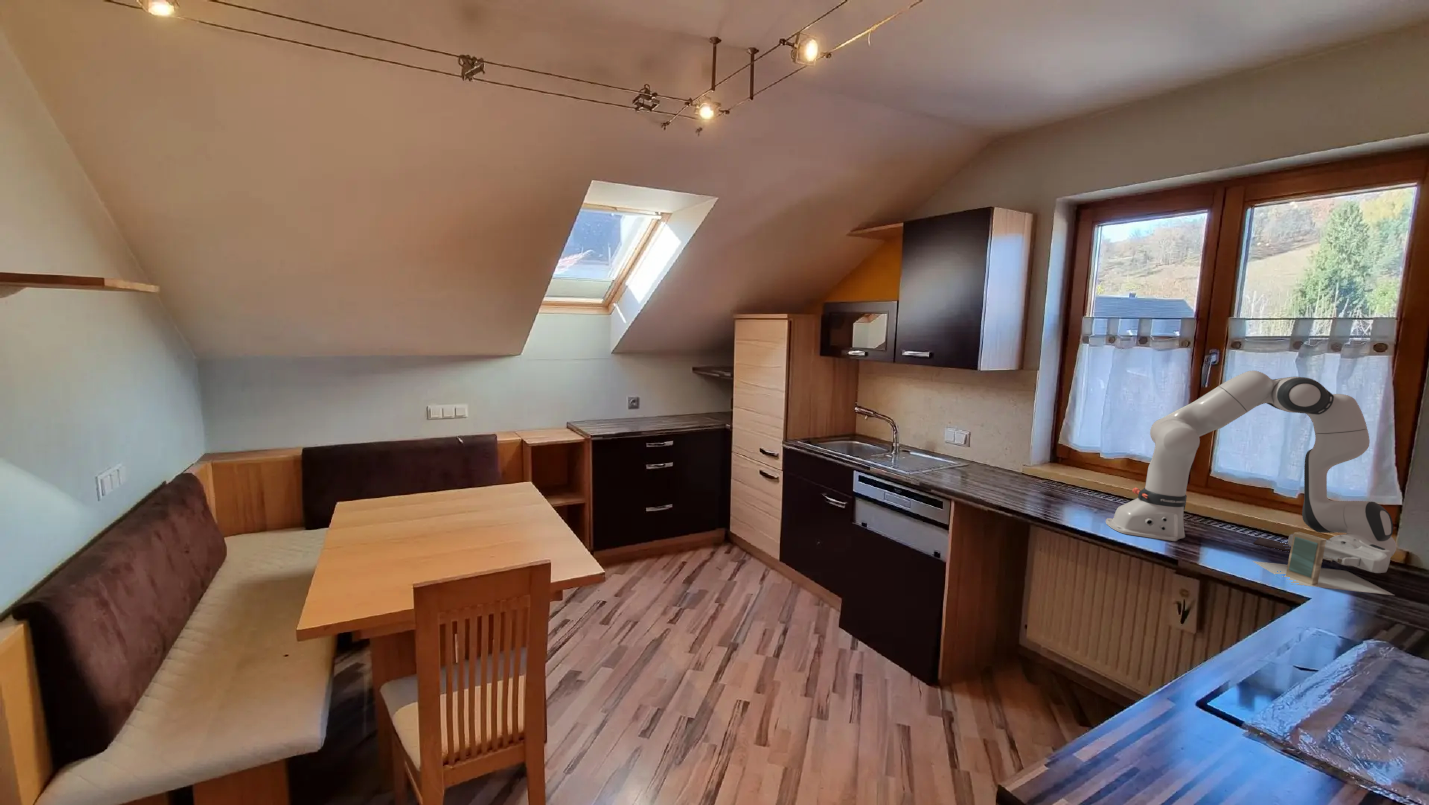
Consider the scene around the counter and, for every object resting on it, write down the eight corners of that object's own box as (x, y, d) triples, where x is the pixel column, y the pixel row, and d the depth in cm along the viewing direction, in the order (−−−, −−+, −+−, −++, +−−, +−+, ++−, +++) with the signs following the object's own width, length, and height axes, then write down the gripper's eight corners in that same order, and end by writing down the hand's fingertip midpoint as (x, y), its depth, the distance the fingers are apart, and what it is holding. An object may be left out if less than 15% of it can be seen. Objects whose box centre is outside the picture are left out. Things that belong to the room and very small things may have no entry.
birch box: (1291, 575, 172) (1299, 531, 170) (1317, 584, 166) (1326, 539, 164) (1285, 576, 171) (1293, 532, 169) (1311, 585, 165) (1320, 540, 163)
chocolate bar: (1259, 537, 202) (1335, 555, 188) (1259, 539, 202) (1334, 557, 188) (1253, 542, 197) (1330, 561, 183) (1252, 545, 197) (1330, 564, 183)
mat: (1290, 585, 166) (1291, 584, 165) (1251, 562, 181) (1252, 561, 181) (1394, 596, 161) (1394, 595, 161) (1345, 572, 176) (1345, 570, 176)
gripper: (1306, 527, 183) (1277, 530, 179) (1399, 553, 164) (1369, 558, 159) (1302, 546, 184) (1273, 550, 180) (1394, 575, 165) (1364, 580, 160)
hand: (1319, 554), depth 169 cm, fingers open, 8 cm apart
